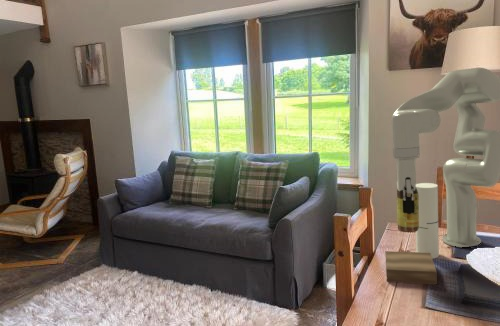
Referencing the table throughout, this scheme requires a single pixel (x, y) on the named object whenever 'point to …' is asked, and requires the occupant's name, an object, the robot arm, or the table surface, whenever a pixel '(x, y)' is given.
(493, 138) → the robot arm
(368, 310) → the table surface
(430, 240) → the cylindrical container
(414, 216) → the sauce bottle
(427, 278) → the walnut plinth
